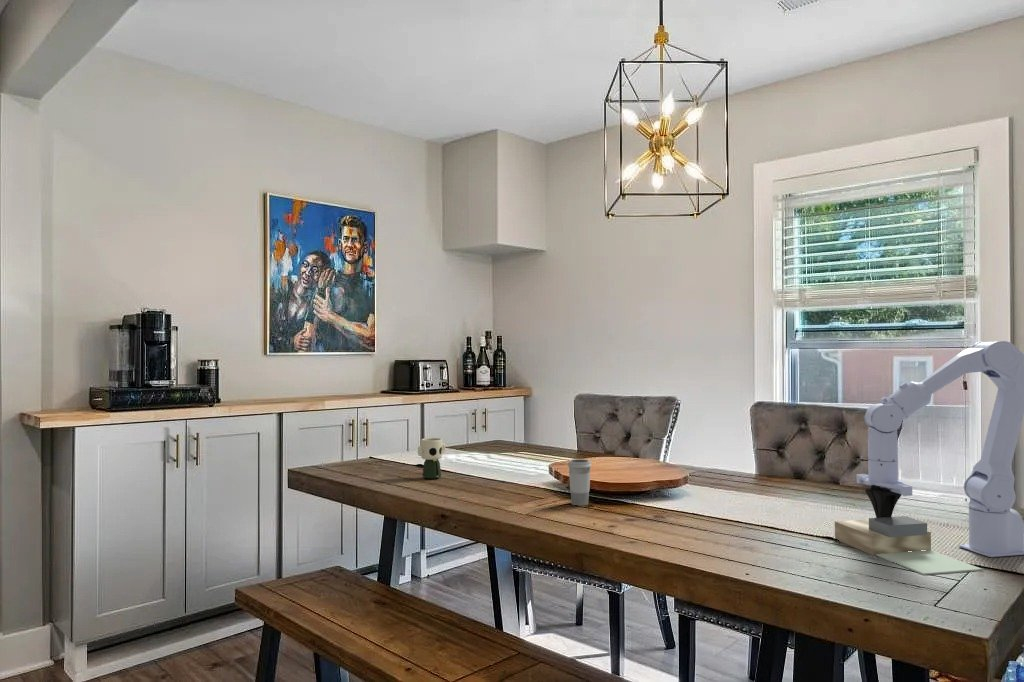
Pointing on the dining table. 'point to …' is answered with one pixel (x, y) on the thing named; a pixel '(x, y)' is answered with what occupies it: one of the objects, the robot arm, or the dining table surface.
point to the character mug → (431, 456)
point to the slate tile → (897, 526)
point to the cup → (579, 481)
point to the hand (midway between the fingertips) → (883, 522)
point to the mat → (928, 562)
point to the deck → (878, 539)
